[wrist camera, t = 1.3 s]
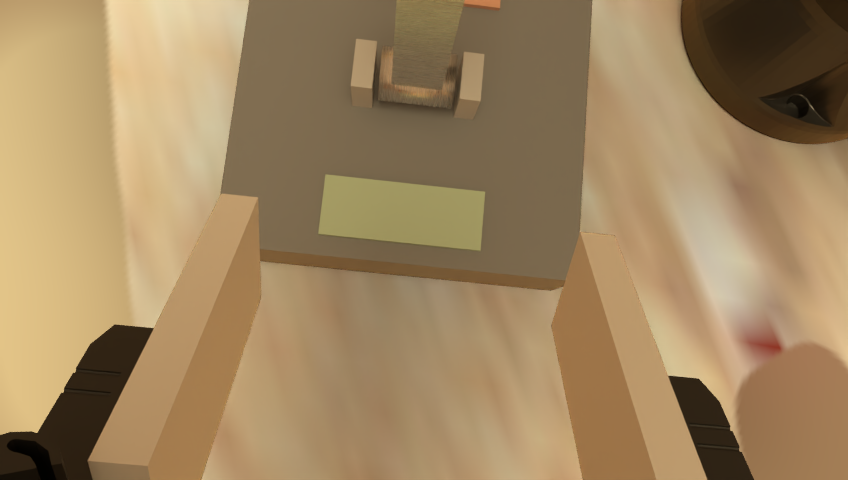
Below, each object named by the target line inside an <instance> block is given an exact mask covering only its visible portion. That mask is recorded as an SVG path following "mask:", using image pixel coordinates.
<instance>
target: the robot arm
mask: <svg viewBox="0 0 848 480" xmlns="http://www.w3.org/2000/svg"><path fill="white" fill-rule="evenodd" d="M682 29H683V36H684V41H685V45H686V49H687V52H688V55H689V58H690V60H691V63H692V65H693V67H694V69H695V71H696V73H697V75H698V76H699V78H700V80H701V81H702V83H703V84H704V86H705V87H706V89H707V90H708V91H709V92H710V94H711V95H712V96H713V97H714V98H715V99H716V101H717V102H718V103H719V104H720V105H721V106H722V107H723V108H724V109H726V110H727V111H728V112H729V113H730V114H731V115H733V116H734V117H735V118H737V119H738V120H740V121H741V122H743V123H744V124H746V125H747V126H749V127H751V128H753V129H755V130H757V131H759V132H761V133H763V134H766V135H768V136H771V137H774V138H777V139H781V140H785V141H789V142H795V143H805V144H820V143H830V142H835V141H840V140H843V139H847V138H848V0H683V4H682ZM260 299H261V277H260V243H259V208H258V197H250V196H241V195H231V194H222V193H221V195H220V197H219V199H218V201H217V203H216V205H215V207H214V209H213V211H212V213H211V215H210V217H209V219H208V221H207V223H206V225H205V227H204V229H203V231H202V233H201V235H200V237H199V239H198V241H197V243H196V245H195V247H194V249H193V251H192V253H191V255H190V257H189V259H188V261H187V263H186V265H185V267H184V269H183V271H182V273H181V275H180V277H179V279H178V281H177V283H176V285H175V287H174V289H173V291H172V293H171V295H170V297H169V299H168V301H167V303H166V305H165V307H164V309H163V311H162V313H161V315H160V317H159V319H158V321H157V323H156V325H155V327H154V328H145V327H135V326H124V325H114V326H112V327H111V328H110V329H109V330H107V331H106V332H105V333H104V334H102V335H101V336H100V337H99V338H98V339H96V340H95V341H94V342H92V343H91V344H90V346H89V347H88V349H87V351H86V353H85V354H84V356H83V357H82V359H81V361H80V362H79V364H78V366H77V367H76V372H75V373H73V374H72V376H71V378H70V379H69V381H68V382H67V384H66V386H65V388H64V393H61V394H60V396H59V398H58V399H57V401H56V403H55V405H54V406H53V408H52V410H51V411H50V413H49V414H48V416H47V418H46V420H45V421H44V423H43V425H42V426H41V428H40V429H39V431H38V433H34V432H9V433H6V434H3V435H0V480H201V478H202V475H203V472H204V469H205V466H206V463H207V460H208V457H209V454H210V451H211V448H212V445H213V442H214V439H215V436H216V433H217V430H218V426H219V423H220V420H221V417H222V414H223V411H224V408H225V405H226V402H227V399H228V396H229V393H230V390H231V387H232V384H233V381H234V378H235V375H236V372H237V369H238V366H239V363H240V360H241V357H242V354H243V350H244V347H245V344H246V341H247V338H248V335H249V332H250V329H251V326H252V323H253V320H254V317H255V314H256V311H257V308H258V305H259V302H260ZM551 326H552V331H553V336H554V341H555V346H556V351H557V356H558V361H559V365H560V370H561V375H562V380H563V385H564V390H565V395H566V400H567V404H568V409H569V414H570V419H571V424H572V429H573V434H574V439H575V443H576V448H577V453H578V458H579V463H580V468H581V473H582V478H583V480H754V479H753V476H752V474H751V472H750V470H749V467H748V465H747V463H746V461H745V458H744V456H743V454H742V452H739V445H738V443H737V440H736V438H735V436H734V434H733V431H730V425H729V422H728V420H727V418H726V416H725V413H724V411H723V409H722V407H721V404H720V402H719V401H718V400H717V398H716V397H715V396H714V395H713V394H712V393H711V392H710V391H709V390H708V388H707V387H706V386H705V385H704V384H703V383H702V382H701V381H700V380H699V379H696V378H686V377H676V376H668V375H667V372H666V369H665V367H664V364H663V361H662V359H661V356H660V354H659V351H658V348H657V346H656V343H655V340H654V338H653V335H652V332H651V330H650V327H649V325H648V322H647V319H646V317H645V314H644V311H643V309H642V306H641V303H640V301H639V298H638V295H637V293H636V290H635V288H634V285H633V282H632V280H631V277H630V274H629V272H628V269H627V266H626V264H625V261H624V258H623V256H622V253H621V251H620V248H619V245H618V243H617V240H616V237H615V236H614V235H605V234H596V233H586V232H580V234H579V237H578V241H577V244H576V247H575V250H574V254H573V257H572V260H571V263H570V267H569V270H568V273H567V276H566V280H565V283H564V286H563V289H562V293H561V296H560V299H559V303H558V306H557V309H556V312H555V316H554V319H553V322H552V325H551Z"/></svg>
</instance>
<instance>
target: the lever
mask: <svg viewBox="0 0 848 480" xmlns="http://www.w3.org/2000/svg"><path fill="white" fill-rule="evenodd" d="M464 1H465V0H397V3H396V19H395V35H394V47H390V46H383V49H382V56H381V65H380V75H379V86H378V100H381V101H390V102H398V103H407V104H415V105H424V106H433V107H441V108H451V106H452V102H453V96H454V90H455V82H456V73H457V55H456V54H451V52H452V48H453V44H454V40H455V36H456V32H457V29H458V25H459V21H460V17H461V13H462V9H463V5H464Z"/></svg>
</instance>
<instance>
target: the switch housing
mask: <svg viewBox="0 0 848 480" xmlns="http://www.w3.org/2000/svg"><path fill="white" fill-rule="evenodd" d="M396 3H397V0H249V6H248V13H247V20H246V26H245V33H244V40H243V47H242V53H241V60H240V67H239V73H238V80H237V87H236V93H235V100H234V107H233V114H232V120H231V127H230V134H229V140H228V147H227V154H226V161H225V167H224V174H223V181H222V187H221V193H222V194H231V195H241V196H250V197H258V208H259V243H260V261H265V262H275V263H285V264H295V265H304V266H314V267H324V268H334V269H344V270H354V271H364V272H373V273H383V274H393V275H403V276H413V277H423V278H433V279H442V280H452V281H462V282H472V283H482V284H492V285H502V286H511V287H521V288H531V289H541V290H554V289H557V288H560V287H563V286H564V283H565V280H566V276H567V273H568V270H569V267H570V263H571V260H572V257H573V254H574V250H575V247H576V244H577V241H578V237H579V234H580V216H581V197H582V179H583V161H584V143H585V124H586V106H587V88H588V69H589V51H590V33H591V15H592V0H465V1H464V5H463V9H462V13H461V17H460V21H459V25H458V29H457V32H456V36H455V40H454V44H453V48H452V52H451V54H456V55H457V73H456V82H455V90H454V96H453V102H452V106H451V108H441V107H433V106H424V105H415V104H407V103H398V102H390V101H381V100H378V86H379V75H380V65H381V56H382V49H383V46H390V47H394V35H395V19H396ZM220 195H221V194H220Z"/></svg>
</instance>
